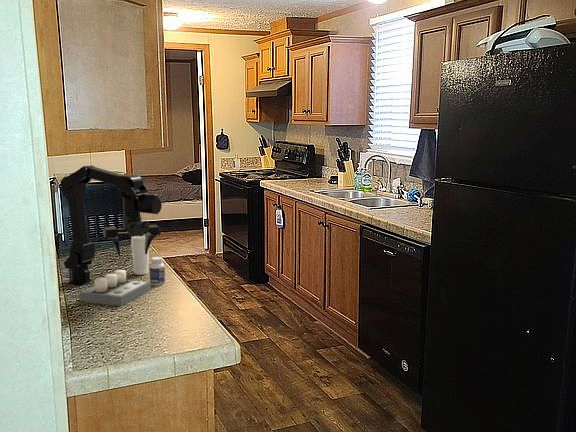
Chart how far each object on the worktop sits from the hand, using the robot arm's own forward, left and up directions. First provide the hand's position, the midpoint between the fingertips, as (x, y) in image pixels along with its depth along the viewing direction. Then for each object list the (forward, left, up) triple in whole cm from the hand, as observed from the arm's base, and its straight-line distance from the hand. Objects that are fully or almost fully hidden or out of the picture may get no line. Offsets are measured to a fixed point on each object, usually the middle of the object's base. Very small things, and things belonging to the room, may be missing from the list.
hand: (132, 255), depth 190 cm
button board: (-2, -8, -13) cm, 15 cm away
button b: (-4, -7, -9) cm, 13 cm away
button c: (-4, -2, -10) cm, 11 cm away
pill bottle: (+4, +9, -13) cm, 17 cm away
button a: (-4, -13, -9) cm, 17 cm away
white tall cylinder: (-9, +19, -13) cm, 25 cm away
